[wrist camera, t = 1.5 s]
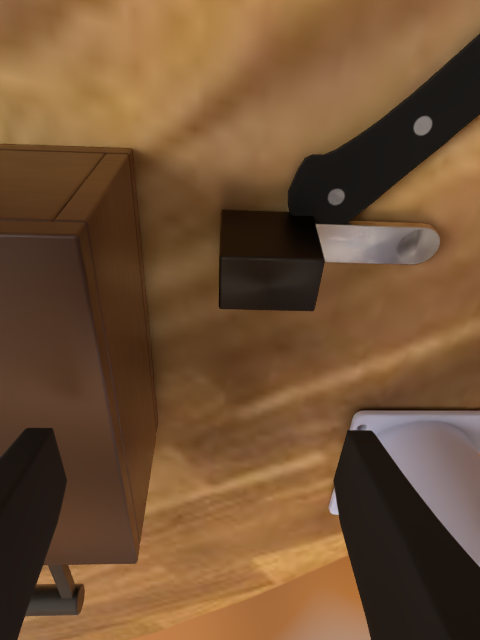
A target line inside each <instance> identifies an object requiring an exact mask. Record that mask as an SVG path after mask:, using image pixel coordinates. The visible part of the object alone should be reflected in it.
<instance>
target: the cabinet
mask: <svg viewBox="0 0 480 640" xmlns="http://www.w3.org/2000/svg"><path fill="white" fill-rule="evenodd" d="M157 427H158V418H157V408H156V397H155V386H154V376H153V365H152V354H151V344H150V333H149V322H148V312H147V301H146V290H145V279H144V269H143V258H142V247H141V237H140V226H139V215H138V205H137V194H136V183H135V173H134V162H133V151H132V149H130V148H105V147H75V146H46V145H16V144H0V457H1V456H2V455H3V454H4V453H5V452H6V450H7V449H8V448H9V447H10V446H11V445H12V443H13V442H14V441H15V440H16V439H17V438H18V436H19V435H20V434H21V433H22V432H23V431H24V430H25V429H26V428H53V431H54V434H55V438H56V441H57V445H58V449H59V452H60V456H61V459H62V463H63V467H64V470H65V474H66V477H67V484H66V489H65V493H64V498H63V503H62V507H61V511H60V515H59V519H58V523H57V526H56V529H55V532H54V535H53V538H52V541H51V544H50V547H49V549H48V552H47V555H46V558H45V561H44V564H43V565H82V564H135V563H137V561H138V554H139V547H140V546H139V544H140V541H141V534H142V527H143V521H144V514H145V507H146V501H147V494H148V487H149V480H150V474H151V467H152V460H153V454H154V447H155V440H156V432H157Z"/></svg>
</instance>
